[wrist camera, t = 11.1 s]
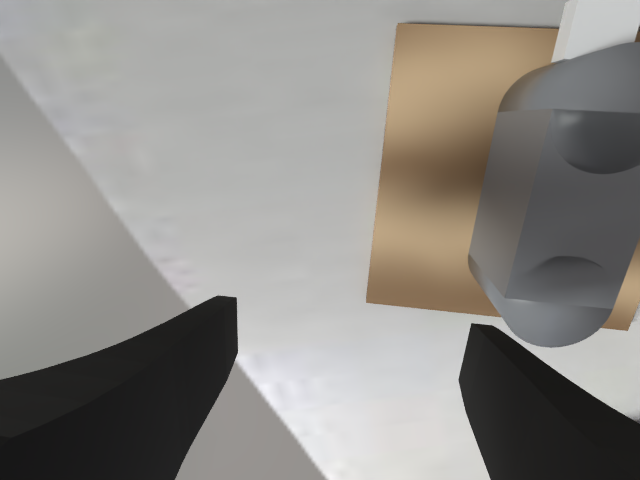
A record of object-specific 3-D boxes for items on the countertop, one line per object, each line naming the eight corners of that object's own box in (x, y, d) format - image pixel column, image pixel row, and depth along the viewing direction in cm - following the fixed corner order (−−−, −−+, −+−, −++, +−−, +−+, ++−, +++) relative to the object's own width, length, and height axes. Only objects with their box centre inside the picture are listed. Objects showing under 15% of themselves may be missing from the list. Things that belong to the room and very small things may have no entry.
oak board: (620, 324, 19) (627, 330, 19) (366, 297, 21) (366, 302, 20) (731, 38, 15) (746, 35, 14) (396, 26, 16) (397, 23, 16)
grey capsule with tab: (538, 294, 19) (596, 352, 14) (461, 287, 19) (493, 341, 14) (617, 20, 15) (738, -28, 10) (517, 17, 15) (587, -31, 10)
